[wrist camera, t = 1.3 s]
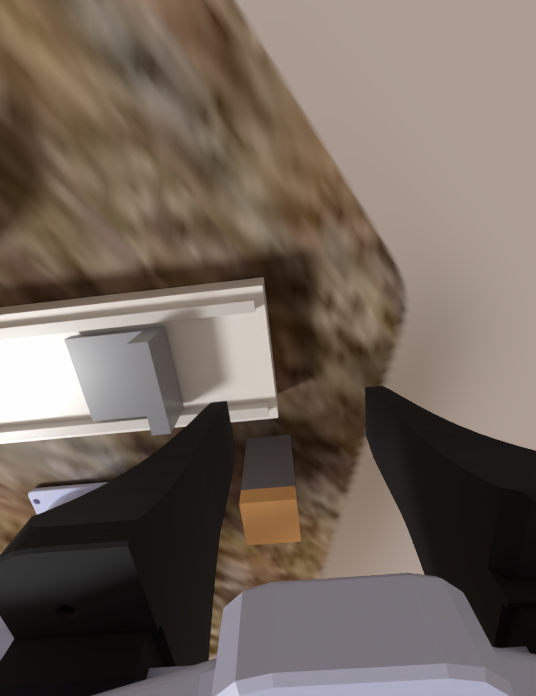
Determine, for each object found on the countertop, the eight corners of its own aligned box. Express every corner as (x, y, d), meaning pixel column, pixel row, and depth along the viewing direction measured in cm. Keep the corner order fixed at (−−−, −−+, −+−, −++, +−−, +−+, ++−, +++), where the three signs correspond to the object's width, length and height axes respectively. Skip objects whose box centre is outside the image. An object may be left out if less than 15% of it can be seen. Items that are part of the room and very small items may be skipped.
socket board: (263, 277, 19) (262, 287, 16) (277, 394, 22) (278, 424, 19) (-50, 312, 20) (-115, 329, 17) (0, 420, 23) (-47, 454, 20)
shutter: (164, 325, 17) (147, 341, 15) (184, 407, 19) (171, 433, 16) (70, 335, 17) (38, 353, 15) (98, 415, 19) (72, 442, 17)
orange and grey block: (294, 469, 25) (301, 541, 19) (252, 473, 25) (247, 545, 19) (290, 434, 23) (296, 499, 18) (246, 438, 24) (239, 504, 18)
